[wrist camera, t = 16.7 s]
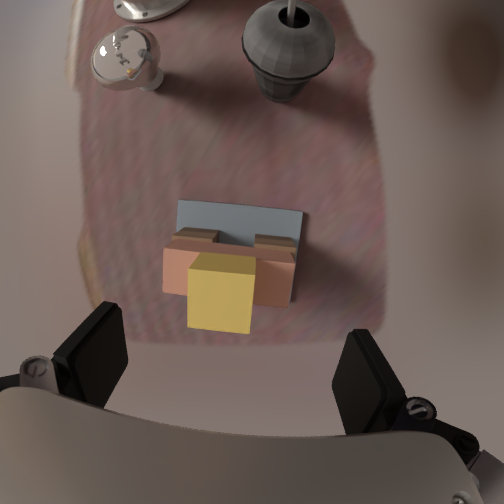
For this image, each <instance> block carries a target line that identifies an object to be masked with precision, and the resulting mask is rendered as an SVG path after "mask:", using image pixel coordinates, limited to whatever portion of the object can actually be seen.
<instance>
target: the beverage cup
mask: <svg viewBox="0 0 504 504" xmlns="http://www.w3.org/2000/svg"><path fill="white" fill-rule="evenodd" d="M242 47H243V51H244V53H245V55H246V57H247V59H248V61H249V62H250V63H251V64H252V65H253V68H254V72H255V75H256V79H257V82H258V85H259V87H260V90H261V92H262V94H263V95H264V96H265V97H266V98H267V99H269V100H271V101H274V102H278V103H279V102H287V101H289V100H291V99H292V98H294V97H295V96H296V95H297V94H298V93H299V92H300V91H301V90H302V89H303V88H304V86H305V85H306V84H307V83H308V82H309V81H310V80H311V78H313V77H314V76H317V75H318V74H320V73H321V72H323V71H324V70H325V69H327V67H328V66H329V64H330V63H331V61H332V60H333V56H334V50H335V35H334V31H333V27H332V25H331V23H330V22H329V20H328V19H327V17H326V16H325V15H324V14H323V13H322V12H321V11H320V10H318V9H317V8H316V7H314V6H312V5H310V4H308V3H306V2H303V1H299V0H276V1H272V2H269V3H267V4H265V5H263V6H262V7H260V8H258V9H257V10H256V11H255V12H254V13H253V15H252V16H251V17H250V18H249V19H248V21H247V24H246V27H245V29H244V32H243V36H242Z"/></svg>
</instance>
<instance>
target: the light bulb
mask: <svg viewBox="0 0 504 504" xmlns="http://www.w3.org/2000/svg"><path fill="white" fill-rule="evenodd" d="M160 57H161V51H160V45H159V42H158V40H157V38H156V37H155V36H154V35H153V34H152V33H151V32H150V31H148V30H147V29H145V28H142V27H139V26H123V27H119V28H116V29H114V30H112V31H110V32H109V33H107V34H106V35H104V36H103V37H102V38H101V39H100V40H99V42H98V43H97V44H96V46H95V48H94V50H93V53H92V56H91V70H92V74H93V75H94V77H95V79H96V80H97V81H98V82H99V83H100V84H101V85H102V86H104V87H106V88H108V89H111V90H115V91H125V90H130V89H133V88H136V87H138V88H140V89H141V90H144V91H152V90H154V89H156V88H158V87H159V86H160V84H161V83H162V81H163V78H164V74H163V71H162V70H161V69H160V68H159V67H158V65H159V62H160Z"/></svg>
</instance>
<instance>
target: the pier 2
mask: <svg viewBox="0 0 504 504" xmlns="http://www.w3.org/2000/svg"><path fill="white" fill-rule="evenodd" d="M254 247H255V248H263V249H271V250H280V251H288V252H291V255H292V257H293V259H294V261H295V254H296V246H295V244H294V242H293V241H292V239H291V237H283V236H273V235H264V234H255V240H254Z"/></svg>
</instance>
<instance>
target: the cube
mask: <svg viewBox="0 0 504 504" xmlns="http://www.w3.org/2000/svg"><path fill="white" fill-rule="evenodd" d="M255 268H256V257H250V256H240V255H229V254H218V253H207V252H200V254H199V255H198V256H197V258H196V259H195V260H194V261H193V263H192V264H191V265H190V267H189V268H188V327H191V328H199V329H207V330H215V331H224V332H234V333H244V334H249V332H250V323H251V313H252V303H253V293H254V282H255Z"/></svg>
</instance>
